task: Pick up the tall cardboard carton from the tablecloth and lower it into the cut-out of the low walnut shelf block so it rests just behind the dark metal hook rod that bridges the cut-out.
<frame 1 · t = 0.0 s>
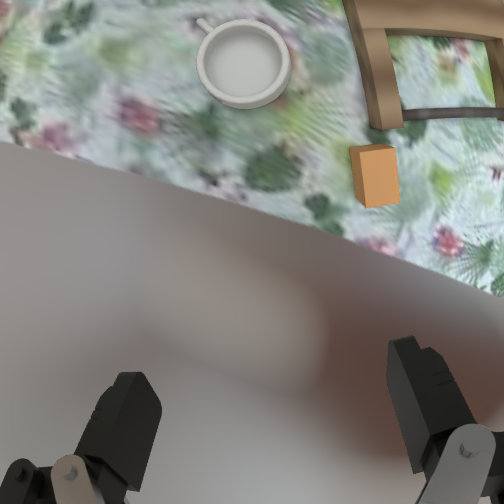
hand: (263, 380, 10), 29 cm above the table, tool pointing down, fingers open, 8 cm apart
tall cardboard carton: (368, 170, 35), on the table
mug: (239, 61, 31), on the table
shelf: (434, 36, 27), on the table
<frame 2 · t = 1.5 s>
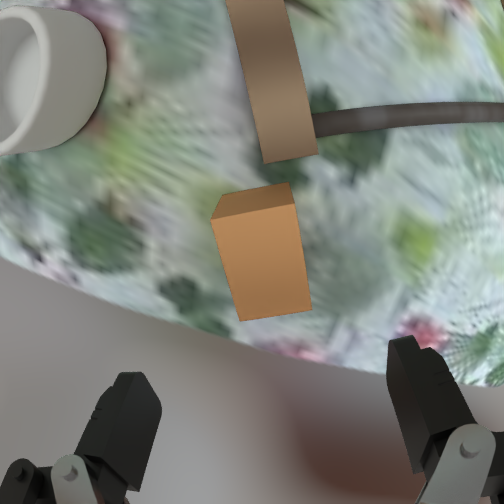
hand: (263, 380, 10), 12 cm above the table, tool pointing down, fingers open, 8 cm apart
tall cardboard carton: (265, 233, 20), on the table
mug: (45, 70, 16), on the table
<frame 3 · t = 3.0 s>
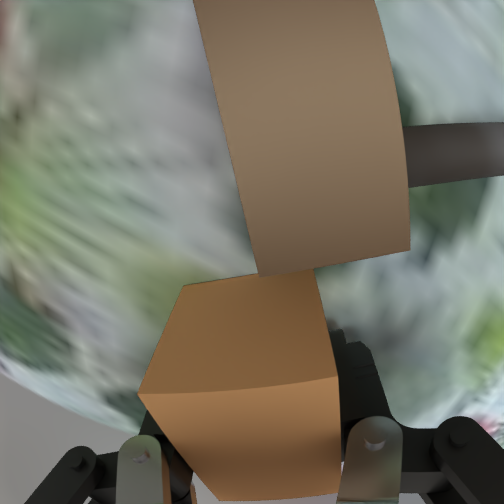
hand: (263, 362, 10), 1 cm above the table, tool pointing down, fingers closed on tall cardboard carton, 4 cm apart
tall cardboard carton: (264, 349, 11), on the table, touching gripper
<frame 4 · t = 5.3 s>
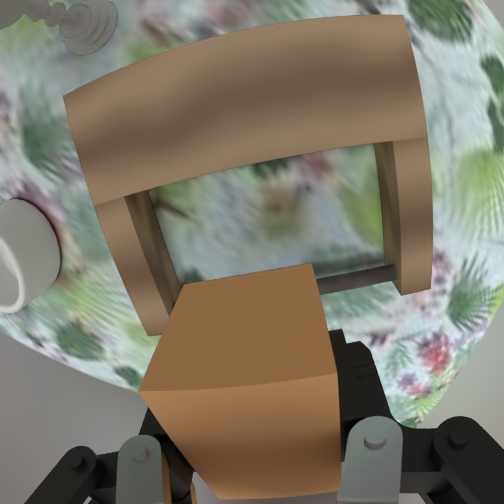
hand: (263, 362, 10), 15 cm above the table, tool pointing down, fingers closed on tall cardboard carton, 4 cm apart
tall cardboard carton: (264, 348, 11), point 14 cm above the table, touching gripper
mug: (21, 234, 26), on the table
shelf: (255, 154, 22), on the table
chalice: (90, 26, 18), on the table
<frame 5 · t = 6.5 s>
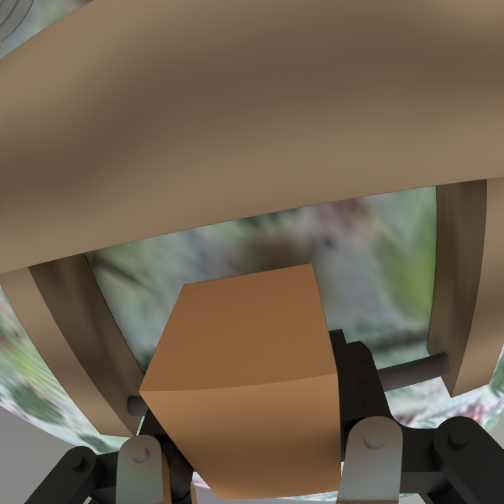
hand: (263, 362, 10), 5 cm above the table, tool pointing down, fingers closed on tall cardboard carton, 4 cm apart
tall cardboard carton: (265, 348, 11), point 4 cm above the table, touching gripper
shelf: (242, 187, 13), on the table
chalice: (7, 2, 9), on the table
when the fingers open (2 cm above the table, at t = 7.4 s): tall cardboard carton drops 1 cm, on the table.
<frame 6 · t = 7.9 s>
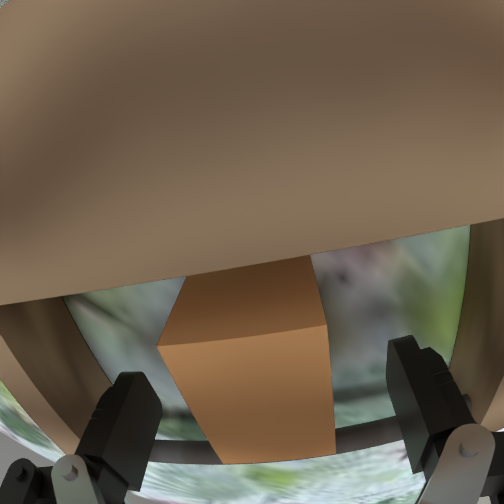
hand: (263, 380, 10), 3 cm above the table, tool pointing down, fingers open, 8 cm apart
tall cardboard carton: (265, 321, 12), on the table
shelf: (236, 211, 10), on the table
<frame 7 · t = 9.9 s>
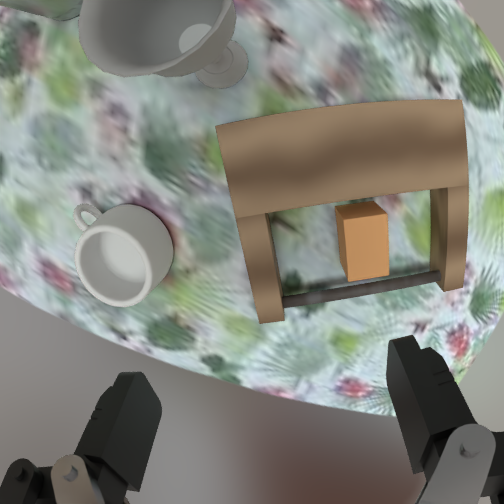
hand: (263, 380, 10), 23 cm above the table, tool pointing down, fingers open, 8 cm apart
tall cardboard carton: (356, 231, 32), on the table
mug: (127, 236, 34), on the table
shelf: (352, 188, 30), on the table
chalice: (221, 63, 26), on the table
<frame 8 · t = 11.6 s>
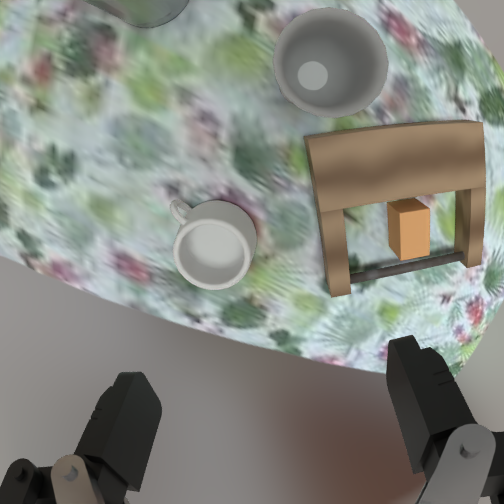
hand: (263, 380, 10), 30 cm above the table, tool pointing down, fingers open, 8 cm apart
tall cardboard carton: (401, 222, 38), on the table
mug: (212, 228, 40), on the table
shelf: (400, 188, 36), on the table
chalice: (301, 84, 32), on the table
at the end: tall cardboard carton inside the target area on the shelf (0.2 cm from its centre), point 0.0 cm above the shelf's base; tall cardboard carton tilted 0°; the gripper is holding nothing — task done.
